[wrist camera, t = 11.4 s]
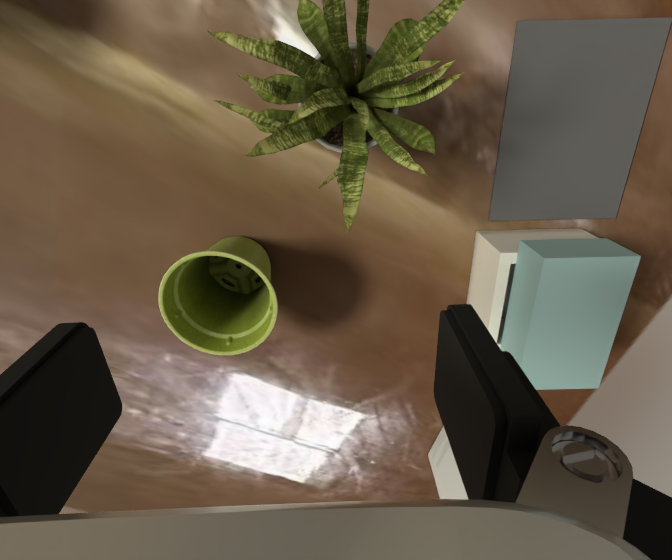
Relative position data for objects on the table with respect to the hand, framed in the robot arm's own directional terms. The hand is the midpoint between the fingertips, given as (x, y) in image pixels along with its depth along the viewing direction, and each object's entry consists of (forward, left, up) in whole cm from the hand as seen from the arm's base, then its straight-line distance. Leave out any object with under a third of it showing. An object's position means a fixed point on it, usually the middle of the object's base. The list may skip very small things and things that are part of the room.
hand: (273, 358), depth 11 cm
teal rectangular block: (+10, +20, -21) cm, 31 cm away
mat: (-4, +22, -27) cm, 36 cm away
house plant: (-7, +3, -28) cm, 29 cm away
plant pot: (+8, -8, -28) cm, 30 cm away
